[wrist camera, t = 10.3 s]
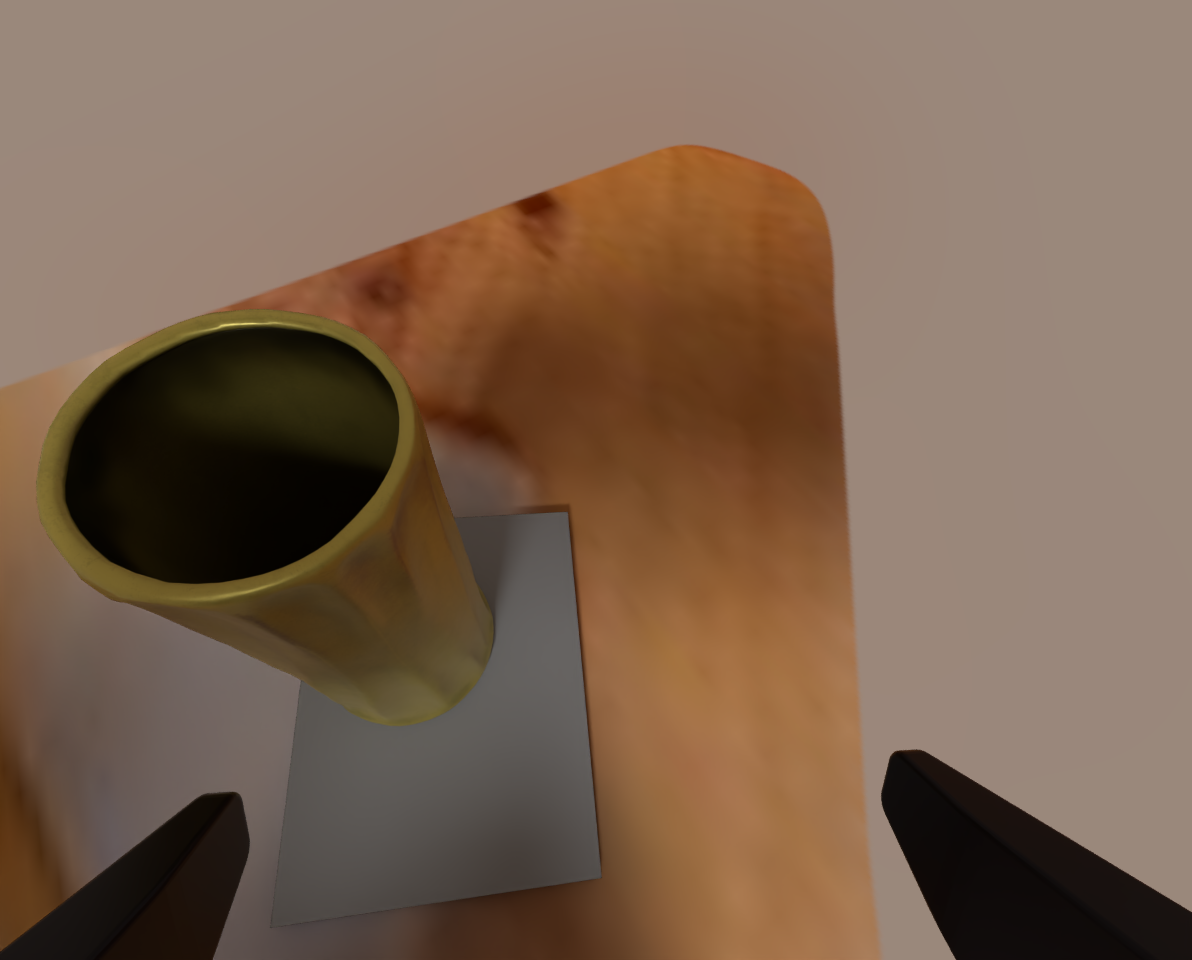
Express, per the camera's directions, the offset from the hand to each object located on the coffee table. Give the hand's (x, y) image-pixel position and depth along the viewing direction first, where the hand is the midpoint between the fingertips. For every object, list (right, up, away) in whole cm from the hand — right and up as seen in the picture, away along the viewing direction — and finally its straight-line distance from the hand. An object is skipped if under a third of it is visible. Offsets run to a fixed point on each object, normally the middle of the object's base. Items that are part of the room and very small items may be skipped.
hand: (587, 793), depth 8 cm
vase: (-7, -2, +13) cm, 15 cm away
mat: (-5, -3, +13) cm, 15 cm away
